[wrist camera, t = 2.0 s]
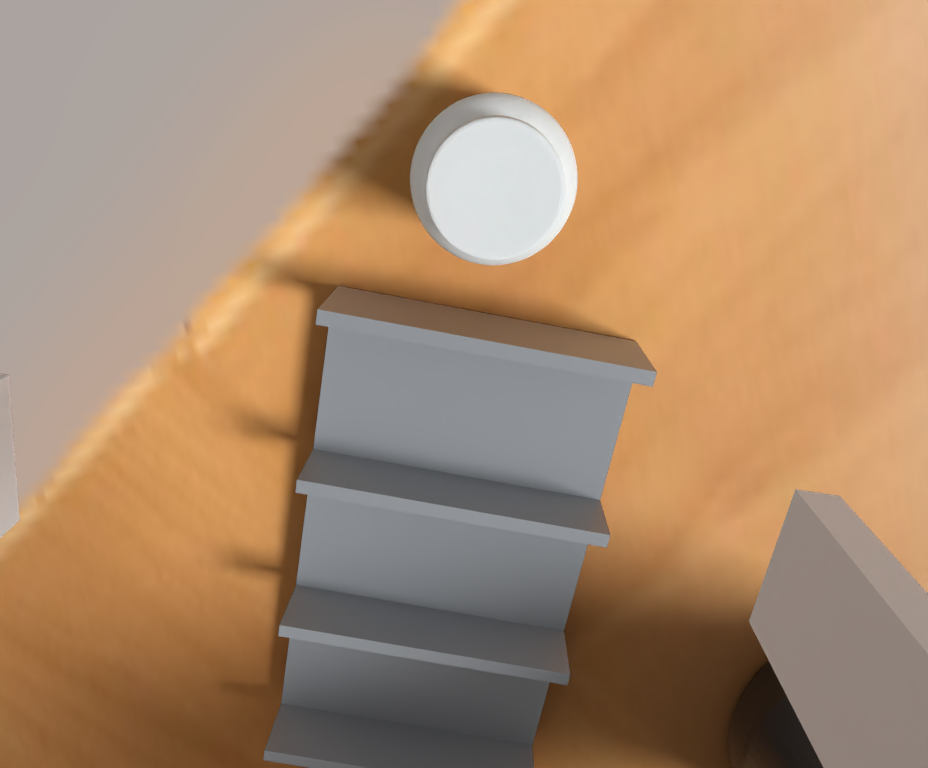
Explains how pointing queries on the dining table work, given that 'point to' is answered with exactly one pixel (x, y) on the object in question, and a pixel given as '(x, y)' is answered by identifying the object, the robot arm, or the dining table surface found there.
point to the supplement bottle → (493, 178)
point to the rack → (443, 531)
